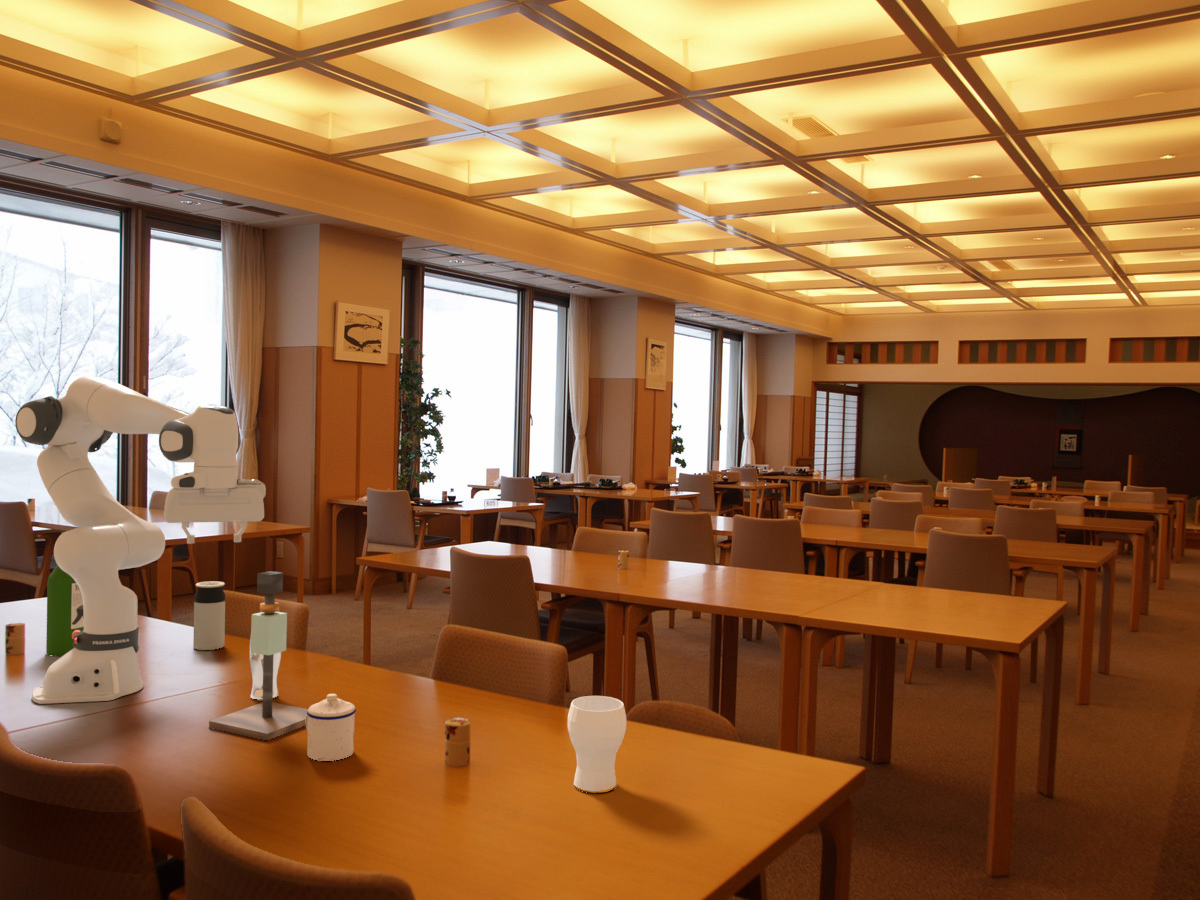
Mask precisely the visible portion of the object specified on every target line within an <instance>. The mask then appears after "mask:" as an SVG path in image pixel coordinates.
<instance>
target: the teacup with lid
mask: <svg viewBox="0 0 1200 900" xmlns="http://www.w3.org/2000/svg"><path fill="white" fill-rule="evenodd" d="M356 712H357V709H356V706H355V705H354V703H351V702H349V701H346V700H343V699H341V698H339V697H338V695H337V694H336V693H328V694H327V695H326V698H325V699H323V700H321V701H319V702H317V703H314V704H311V705H310V706H309V707H308V711H307V715H306V718H305V724H306V726H305V729H306V732H307V744H306V745H307V746H306V747H307V749H306V751H307V752H306V753H307V754H306V755H307V757H308V758H309V759H310V758H311V759H310V760H312V759H313V760H312V761H315V760H317V761H316V762H321V761H332V762H337V761H336V760H339V761H341V760H340V759H343V760H345V759H344V758H346V759H348V758H349V756H350V757H351V756H352V755H353V754H354V750H355V749H354V747H355V745H354V744H355V713H356ZM347 757H348V758H347ZM334 760H335V761H334Z"/></svg>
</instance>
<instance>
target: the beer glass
mask: <svg viewBox="0 0 1200 900" xmlns="http://www.w3.org/2000/svg"><path fill="white" fill-rule="evenodd" d="M248 656H249V665H250V672H251V676H252V685H251V686H252V687H251V693H250V699H251V698H252V699H251V700H253V699H257V700H256V701H263V654H257V653H251V637H250V639H249V654H248ZM281 657H282V652H279V653H276V654H274V657H273V698H274V699H276V698H278V697H279V689H278V673H279V668H280V664H281ZM277 696H278V697H277ZM275 697H276V698H275Z"/></svg>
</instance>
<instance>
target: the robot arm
mask: <svg viewBox="0 0 1200 900" xmlns="http://www.w3.org/2000/svg"><path fill="white" fill-rule="evenodd" d="M14 422H15V424H14V425H15V429H16V432H17V434H18V435H19V437H20V438H21V439H22V440H23V441H24V442H25V443H28V444H32V445H35V446H45V445H47V447H45V448H44V449H43V450H42V451H40V453H39V455H38V457H37V460H36V466H37V469H38V472H39V475H40V478H41V481H42V484H43V485H44V487H45V489H46V491H47V493H48V495H49V496H50V498H51V499H52V501H53V503H54V505H55V506H56V509H57V510H58V512H59V513H60V515H61V516H62V519H64V520H65V521H66V522H67V523H69V524H70V525H72V526H74V527H76V528H72V529H70V530H65V531H66V532H64V531H63V532H64V533H62V534H61V533H60V535H59V536H58V537H57V539H56V541H55V544H54V547H53V556H54V557H53V559H54V561H55V564H56V566H57V565H58V566H59V567H60V568H61V569H62V570H63V571H64V572H66V573H67V574H69V575H70V576H71V577H72V578H73V579H74V580H75V582H76V583H77V585H78V587H79V589H80V592H81V595H82V599H83V614H84V630H83V631H81V632H80V630H75V631H74V632H73V633H72V638H73V647H74V648H73V649H72V650H70V651H69V652H68V653H66V654H65V655H64V656H60V657H58V659H57V660H56V661H53V663H52V664H51V665H49V667H48V668H47V670H46V673H45V675H44V679H43V684H40V685H39V686H37V687H35V688H34V689H33V692H32V693H31V695H32V696H31V700H32V702H34V703H35V704H39V705H41V704H42V705H45V704H48V705H49V704H62V703H65V704H67V703H68V704H69V703H84V702H85V703H87V702H88V703H89V702H105V701H107V702H109V701H113V700H115V699H119V698H121V697H123V696H127V695H130V694H133V693H134V694H135V693H137V692H139V691H140V690H142V689H144V682H143V679H142V676H141V671H140V664H139V655H138V653H139V649H140V636H141V635H140V629H139V627H138V596H137V594H136V593H135V592H134V591H133V590H132V589H131V588H129V587H127V586H125V585H123V584H122V582H121V579H120V578H119V576H120V575H119V571H120V570H125V569H127V570H128V569H132V568H133V569H134V568H141V567H143V566H146V565H148V564H150V563H153V562H155V561H156V562H157V560H159V559H160V558H161V557H162V555H163V553H164V552H165V548H166V538H165V534H164V532H163V531H162V529H161V527H160V526H158V524H155V523H153V522H149V521H147V520H145V519H143V518H141V517H140V516H137V515H136V514H134V513H133V512H131V511H130V510H129V509H128V508H126V507H125V506H124V505H122V504H121V502H119V501H118V500H117V499H116V498H115V497H114V496H113V495H112V494H111V492H110V491H109V489H108V488H107V486H106V485H105V484H104V482H103V480H102V479H101V478H100V475H99V473H97V471H96V469H95V467H93V465H92V463H91V462H90V459H89V457H88V455H89V453H95V452H98V451H99V450H100V449H101V447H102V446H103V445H104V444H105V443H107V442H108V441H109V439H110V438H111V437H112V436H113V434H114V433H115V434H122V435H159V436H158V446H159V450H160V452H161V454H162V455H163V457H164V458H166V460H168V461H171V462H175V463H194V464H193V471H191V472H185V473H184V474H179V475H176V476H173V477H172V478H171V480H170V485H171V487H172V488H170V489H169V491H167V494H166V497H165V501H164V508H163V509H164V510H163V520H164V521H165V522H166V523H169V524H179V523H181V528H182V530H183V532H184V533H185V535H186V544H189V545H191V544H195V542H196V541H195V539H196V535H195V534H191V533H190V532H189V530H188V529H189V527H190V523H234V522H239V523H238V524H239V526H240V529H239V530H238V531H237V533H233V542H234V543H242V536H243V534H244V533H245V530H246V529H247V528H248V522H261V521H263V519H264V518H265V505H264V504H265V502H264V498H265V497H266V495H267V488H266V484H265V483H264V482H262V481H260V480H259V479H240V478H239V479H238V466H239V465H238V461H237V454H238V452H239V450H240V447H241V441H242V439H241V434H240V432H239V425H238V418H237V415H236V413H235V410H233V409H232V408H231V407H228V406H224V405H217V404H209V403H206V404H201V405H199V406H197V408H196V409H195V410H194V411H193V412H191V413H189V412H186V411H183V410H181V409H178V408H175V407H172V406H169V405H167V404H165V403H163V402H160V401H158V400H156V399H153V398H151V397H148V395H147V396H146V395H144V394H142V393H140V392H138V391H136V390H135V389H134V390H133V389H132V388H129V387H127V386H126V385H123V384H120V383H118V382H115V381H113V380H110V379H106V378H101V377H96V376H86V375H85V376H81V377H79V378H77V379H75V380H74V381H73V382H71V383H70V385H69V386H68V388H67V390H66V394H65V395H64V396H63V397H61V398H60V397H59V398H55V397H54V396H52V395H49V396H47V397H46V396H45V397H43V398H40V399H39V398H37V399H35V400H31V401H28V402H26V403H24V404H22V405H21V407H20V408H19V409H18V410H17V412H16V416H15V421H14Z"/></svg>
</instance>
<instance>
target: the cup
mask: <svg viewBox="0 0 1200 900" xmlns="http://www.w3.org/2000/svg"><path fill="white" fill-rule="evenodd" d="M569 706H570V707H569V709H568V714H567V731H568V735H569V739H570V743H571V744H572V746H573V748H574V751H575V757H576V769H575V774H574V779H573V786H574V785H575V786H576V787H578V788H581V789H583V790H588V791H601V790H607V789H610V788H613V787H614V786H615V785H616V786H617V777H616V771H615V770H616V769H615V768H616V767H615V764H616V758H617V752H618V751H619V749H620V747H621V745H622V743H623V740H624V737H625V734H626V731H627V714H626V709H625V705H624V702H623V701H621V700H620V699H618V698H615V697H612V696H606V695H605V696H604V695H588V696H587V695H586V696H579V697H577V698H574V699H572V701H571V703H570V705H569Z"/></svg>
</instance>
